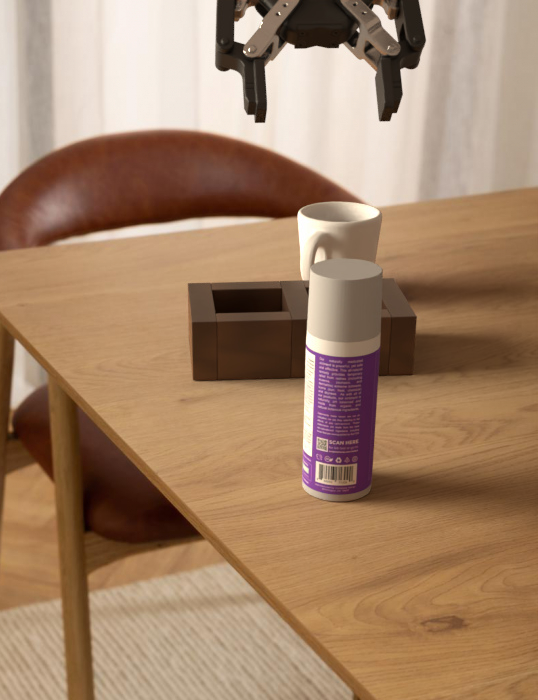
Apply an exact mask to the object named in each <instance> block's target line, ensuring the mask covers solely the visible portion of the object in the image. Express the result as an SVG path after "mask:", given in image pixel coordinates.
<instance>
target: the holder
mask: <svg viewBox="0 0 538 700" xmlns="http://www.w3.org/2000/svg"><path fill="white" fill-rule="evenodd" d="M309 284H310V280H303V279H301V280H300V279H297V280H267V281H264V280H262V281H229V282H228V281H227V282H226V281H225V282H189V283H187V317H188V319H187V320H188V321H187V323H188V345H189V355H190V366H191V375H192V381H216V380H219V381H221V380H224V381H225V380H256V379H257V380H259V379H260V380H261V379H290V378H291V379H293V378H294V379H295V378H296V379H297V378H305V361H306V336H307V319H308V301H309ZM399 286H400V285H398V283H397V282H396V280H395V278H394V277H382V306H381V337H380V359H379V375H378V376H403V375H405V376H407V375H413V373H414V371H413V370H414V360H415V346H416V333H417V322H418V320H417V319H418V316H417V314H416V313H415V311H414V310H413V308H412V306H411V305H410V303H409V301H408V300H407V297H406V296H405V294H404V293H403V291H402V290H401V288H400V287H399Z"/></svg>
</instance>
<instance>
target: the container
mask: <svg viewBox="0 0 538 700" xmlns="http://www.w3.org/2000/svg"><path fill="white" fill-rule="evenodd" d="M383 271H384V269H383V268H382V266H381V265H379V264H377V263H376V262H375V263H373V262H369V261H365V260H359V259H346V258H342V259H329V260H324V261H320V262H317V263H315V264H313V265H312V266H311V268H310V284H309V301H308V319H307V336H306V361H305V377H304V397H303V398H304V399H303V400H304V402H303V431H302V433H303V434H302V435H303V436H302V465H301V467H302V468H301V469H302V470H301V475H302V476H301V486H302V489H303V490H304V492H306V493H307V494H308V495H310V496H312V497H314V498H315V499H319V500H323V501H327V502H350V501H355V500H358V499H361V498H364V497H365V496H366V495H369V493H370V492H371V489H372V483H373V470H374V455H375V436H376V424H377V423H376V422H377V421H376V420H377V404H378V389H379V376H380V375H379V359H380V337H381V306H382V278H384V277H383V273H384V272H383Z"/></svg>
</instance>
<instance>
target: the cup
mask: <svg viewBox="0 0 538 700" xmlns="http://www.w3.org/2000/svg"><path fill="white" fill-rule="evenodd" d="M382 222H383V213H382V211H381V210H380V209H379V208H378V207H376V206H373V205H370V204H366V203H361V202H353V201H323V202H315V203H311V204H307V205H306V206H303V207H301V208H300V209H299V210H298V212H297V229H298V242H299V255H300V259H299V268H300V269H299V270H300V276H301V280H302V281H303V280H310V268H311V266H312V265H313V264H315V263H317V262H320V261H324V260H329V259H342V258H346V259H359V260H365V261H369V262H373V263H375V264H376V260H377V254H378V247H379V243H380V242H379V241H380V235H381V229H382V228H381V227H382V224H383V223H382Z"/></svg>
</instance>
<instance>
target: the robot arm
mask: <svg viewBox="0 0 538 700" xmlns="http://www.w3.org/2000/svg"><path fill="white" fill-rule="evenodd" d="M215 3H216V4H215V5H216V7H215V45H214V46H215V49H214V51H215V52H214V65H215V66H214V67H215V68H216V69H217V70H218V71H220V72H228V71H230V70H231V71H235V72H237V73H238V74H239V75H240V76H241V81H242V96H243V98H242V99H243V109H244V111H245V113H246V115H247V116H253V117H254V118H253V119H254V124H265V123H266V121H267V113H268V98H267V97H268V96H267V95H268V94H267V79H266V78H267V77H266V66H267V65H268V64H269V62H270V61H271V62H272V61H274V60H275V59H276V58H277V57H278V55H279V54H280V53H281V51H282V50H283V49H284V48H285V47H286V45H288V44H289V45H292V46H293V47H294V49H295V50H299V49H300V50H301V49H302V50H303V49H304V50H305V49H309V48H313V47H319V48H325V49H339V48H340V45H343V46H344V47H345V48H346V49H347V50H348V51H349V52H350V53H352V55H353V56H354V57H355V58H356V59H357V60H360V61H361V60H364V61H365V62H366V63H367V64H368V65H369V66H370V67H371V68H372V69H373V70H374V71H375V72H376V73H375V76H374V81H375V82H374V83H375V93H376V94H375V96H376V105H377V115H378V121H379V122H380V123H381V122H391V120H392V117H393V114H397V113H398V111H399V108H400V105H401V102H402V98H403V96H404V92H403V81H402V73H401V70H403V69H406V70H415V69H416V68H418V67H419V66H420V65H419V64H420V62H421V55H422V53H423V50H424V48H425V46H426V43H427V38H426V33H425V32H426V31H425V26H424V21H423V16H422V10H421V5H420V0H216V2H215ZM374 6H379V7H381V8H382V10H383V11H384V13H385V15H386V16H387V19H388V20H389V21H394V26H395V27H394V28H395V32H396V38H397V40H396V38H394V37H393V35H391V34H390V33H389V32H388V31H387V30H386V29H385V28H384V27H383V25H382V21H381V19H380V17H379V16H378V15H377V14H376V13H375V12H374V11H373V9H374ZM251 7H254V9H255V11H256V13H258V15H259V16H261V18H262V19H261V21H260V23H259V26H258V28H257V30H256V31H255V32H254V33H253V34H252V36H251V37H250V38H249V39H248V41H246V43H242V42H238V41H236V40H235V23H238V22H239V21H240V19H243V18H244V17H245V15H246V11H247V10H248V9H249V8H251ZM358 30H359V31H358Z"/></svg>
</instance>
